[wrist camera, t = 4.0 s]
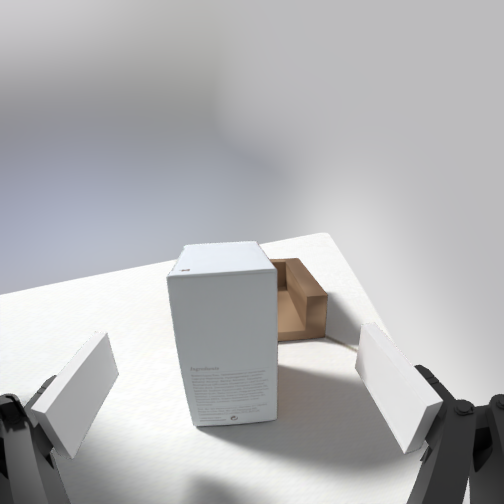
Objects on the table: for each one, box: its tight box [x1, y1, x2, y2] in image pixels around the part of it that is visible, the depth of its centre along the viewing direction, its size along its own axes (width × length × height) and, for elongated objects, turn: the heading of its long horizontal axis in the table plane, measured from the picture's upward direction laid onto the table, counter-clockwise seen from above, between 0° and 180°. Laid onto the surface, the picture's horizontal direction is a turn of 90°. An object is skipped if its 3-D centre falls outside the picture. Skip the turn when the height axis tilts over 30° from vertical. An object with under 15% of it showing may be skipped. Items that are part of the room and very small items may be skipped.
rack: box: [269, 258, 328, 341], centre depth 33 cm, size 12×14×4 cm
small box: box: [166, 241, 278, 426], centre depth 19 cm, size 8×6×10 cm
